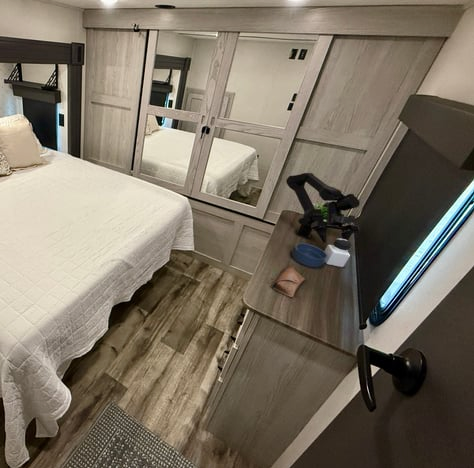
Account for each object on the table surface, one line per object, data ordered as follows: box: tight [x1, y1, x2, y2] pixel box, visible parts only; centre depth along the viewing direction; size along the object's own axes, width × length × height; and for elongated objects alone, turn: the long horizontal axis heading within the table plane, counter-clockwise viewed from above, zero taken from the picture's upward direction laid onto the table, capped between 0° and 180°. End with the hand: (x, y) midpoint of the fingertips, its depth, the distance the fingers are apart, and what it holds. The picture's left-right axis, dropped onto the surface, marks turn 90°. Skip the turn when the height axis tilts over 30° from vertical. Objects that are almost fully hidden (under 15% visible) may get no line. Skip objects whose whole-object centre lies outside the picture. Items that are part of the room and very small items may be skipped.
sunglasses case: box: [272, 265, 306, 298], centre depth 118 cm, size 18×7×7 cm
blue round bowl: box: [290, 242, 327, 268], centre depth 134 cm, size 13×13×5 cm
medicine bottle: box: [323, 238, 352, 268], centre depth 132 cm, size 7×7×12 cm
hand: (334, 244), depth 134 cm, fingers open, 9 cm apart
